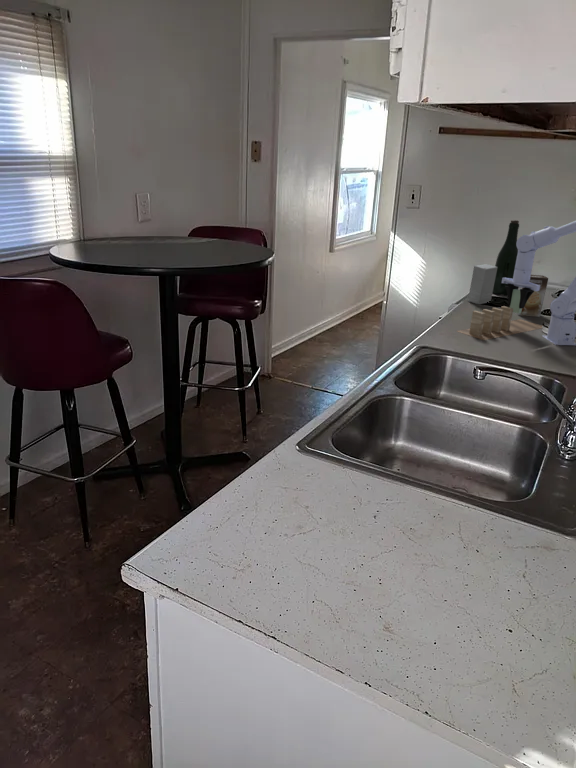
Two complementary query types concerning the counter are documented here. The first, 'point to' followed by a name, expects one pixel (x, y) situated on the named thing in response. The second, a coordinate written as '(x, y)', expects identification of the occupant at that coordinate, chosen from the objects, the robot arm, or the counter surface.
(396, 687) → the counter surface
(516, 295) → the green domino
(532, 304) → the coffee box
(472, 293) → the skincare box
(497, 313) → the birch domino
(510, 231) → the beer bottle
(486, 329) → the birch domino
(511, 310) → the birch domino
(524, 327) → the thin wooden board
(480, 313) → the birch domino
